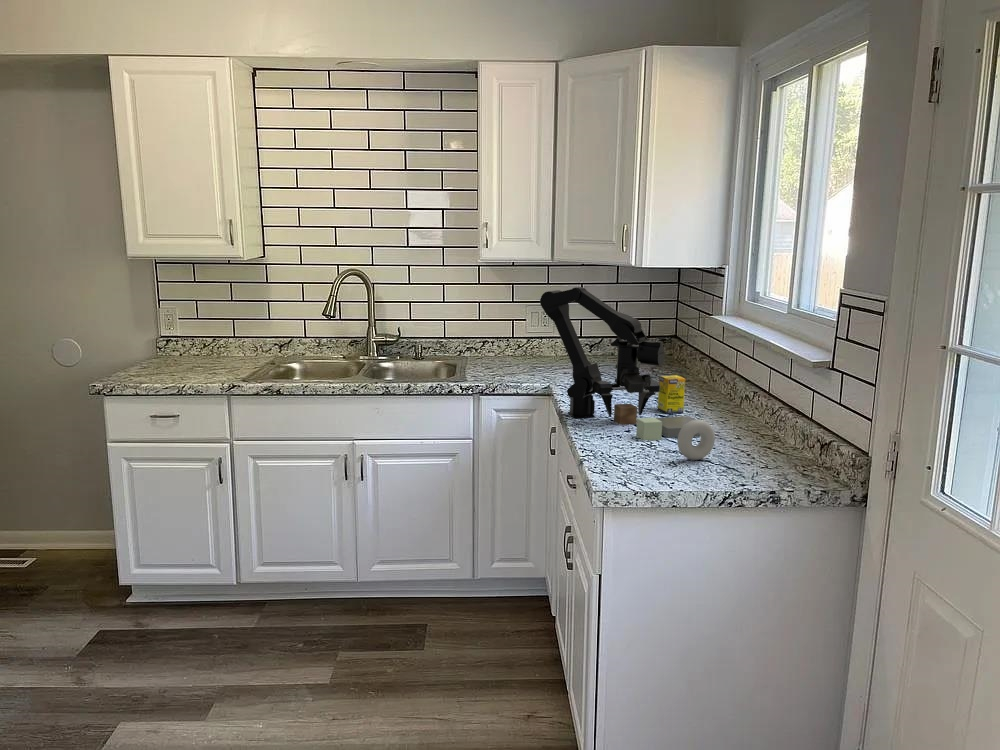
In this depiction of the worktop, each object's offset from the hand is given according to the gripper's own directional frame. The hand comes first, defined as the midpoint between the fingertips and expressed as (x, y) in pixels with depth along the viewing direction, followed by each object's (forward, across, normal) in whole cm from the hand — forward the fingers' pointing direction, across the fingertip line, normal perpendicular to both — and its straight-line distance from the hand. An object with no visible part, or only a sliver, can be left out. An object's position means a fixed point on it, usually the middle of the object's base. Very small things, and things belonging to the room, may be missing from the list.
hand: (625, 415), depth 221 cm
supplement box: (+2, +19, +10) cm, 21 cm away
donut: (+2, +3, -38) cm, 38 cm away
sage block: (+2, 0, -17) cm, 17 cm away
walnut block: (+2, 0, 0) cm, 2 cm away
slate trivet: (+2, +11, -12) cm, 16 cm away
